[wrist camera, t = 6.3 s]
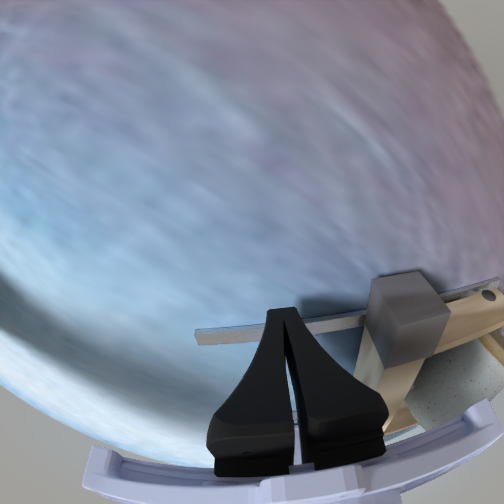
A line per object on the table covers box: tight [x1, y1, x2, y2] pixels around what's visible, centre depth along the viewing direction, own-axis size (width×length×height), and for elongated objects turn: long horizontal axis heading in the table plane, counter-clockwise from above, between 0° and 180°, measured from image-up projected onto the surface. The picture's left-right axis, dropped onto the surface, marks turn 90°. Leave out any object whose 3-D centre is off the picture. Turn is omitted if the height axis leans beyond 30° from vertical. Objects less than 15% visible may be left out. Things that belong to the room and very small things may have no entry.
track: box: [194, 277, 500, 420], centre depth 18 cm, size 13×23×1 cm, turn 97°
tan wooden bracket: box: [353, 271, 504, 436], centre depth 15 cm, size 15×12×4 cm
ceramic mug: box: [404, 329, 504, 431], centre depth 14 cm, size 11×8×8 cm
